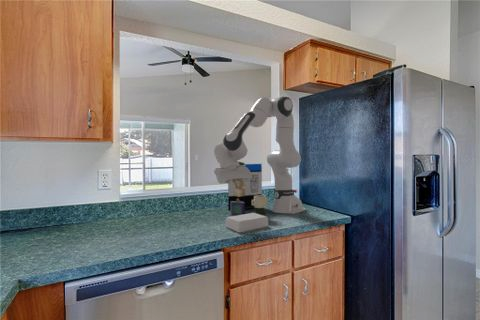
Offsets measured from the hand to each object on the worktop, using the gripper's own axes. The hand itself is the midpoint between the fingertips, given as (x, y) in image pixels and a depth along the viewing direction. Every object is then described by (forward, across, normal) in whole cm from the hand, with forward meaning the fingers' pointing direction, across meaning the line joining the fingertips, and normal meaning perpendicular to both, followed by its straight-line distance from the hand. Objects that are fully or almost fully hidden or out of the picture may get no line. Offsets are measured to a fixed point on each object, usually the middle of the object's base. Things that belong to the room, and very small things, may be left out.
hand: (240, 187), depth 139 cm
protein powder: (-9, +27, +38) cm, 48 cm away
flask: (+2, +9, +26) cm, 28 cm away
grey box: (+16, +2, +12) cm, 20 cm away
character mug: (+10, +17, +19) cm, 27 cm away
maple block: (+3, 0, +4) cm, 4 cm away
